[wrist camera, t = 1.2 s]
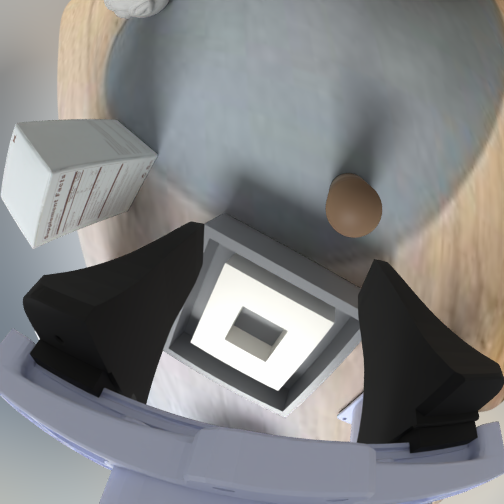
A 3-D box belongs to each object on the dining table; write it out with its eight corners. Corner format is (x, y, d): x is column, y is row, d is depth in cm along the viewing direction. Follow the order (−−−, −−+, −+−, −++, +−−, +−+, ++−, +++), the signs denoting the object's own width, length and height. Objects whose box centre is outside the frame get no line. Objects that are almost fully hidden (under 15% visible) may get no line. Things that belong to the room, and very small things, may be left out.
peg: (375, 186, 20) (392, 199, 14) (356, 220, 22) (363, 247, 15) (340, 165, 20) (342, 169, 14) (322, 200, 22) (315, 219, 16)
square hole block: (373, 295, 23) (378, 320, 19) (292, 392, 29) (285, 418, 26) (224, 213, 25) (204, 224, 21) (178, 329, 31) (160, 348, 27)
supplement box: (91, 173, 28) (-2, 195, 16) (117, 117, 25) (14, 119, 13) (129, 213, 28) (31, 252, 16) (161, 155, 25) (50, 170, 13)
